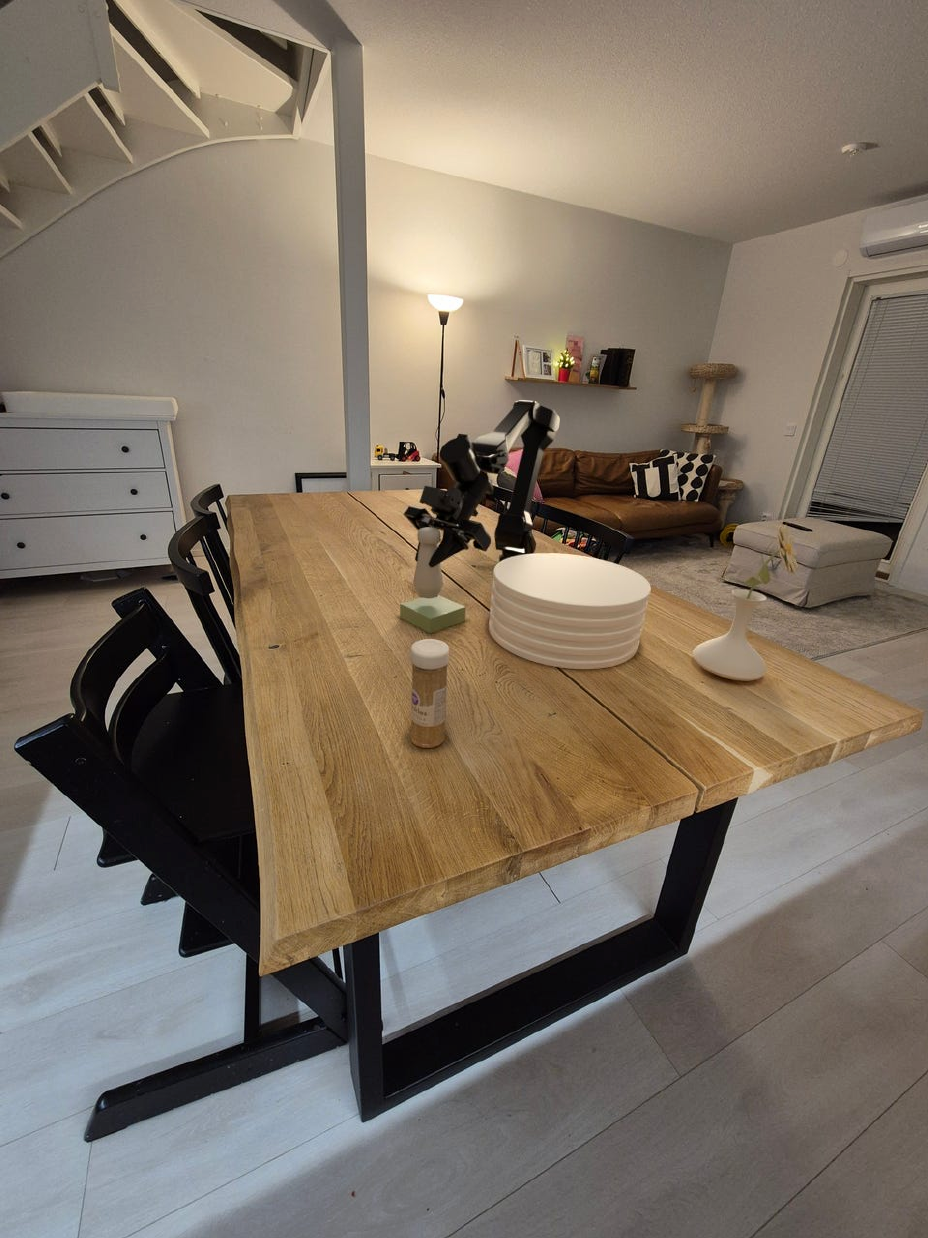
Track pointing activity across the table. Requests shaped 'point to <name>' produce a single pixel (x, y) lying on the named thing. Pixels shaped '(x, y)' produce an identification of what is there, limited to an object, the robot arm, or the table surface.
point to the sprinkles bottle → (428, 692)
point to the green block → (432, 613)
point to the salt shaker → (427, 564)
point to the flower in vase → (744, 625)
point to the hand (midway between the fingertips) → (423, 563)
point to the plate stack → (567, 610)
